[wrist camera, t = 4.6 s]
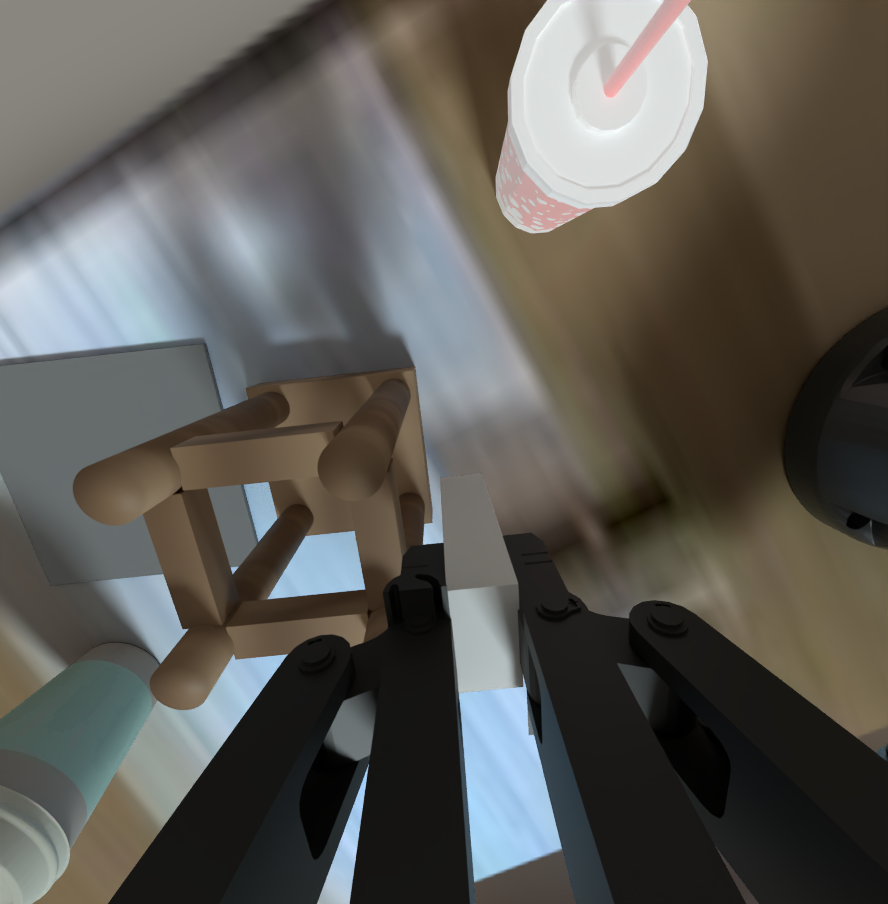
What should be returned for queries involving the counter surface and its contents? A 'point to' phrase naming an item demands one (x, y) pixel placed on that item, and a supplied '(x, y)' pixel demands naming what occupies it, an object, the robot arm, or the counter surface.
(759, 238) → the counter surface
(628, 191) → the beverage cup
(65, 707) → the coffee cup
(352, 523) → the stool
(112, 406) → the mat
